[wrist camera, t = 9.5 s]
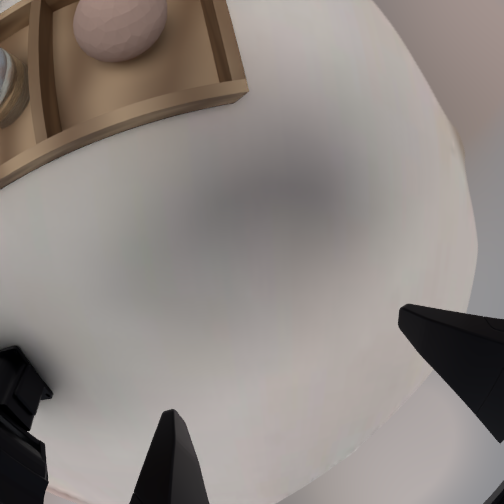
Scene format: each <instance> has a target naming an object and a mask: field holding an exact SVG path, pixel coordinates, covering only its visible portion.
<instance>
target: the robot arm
mask: <svg viewBox="0 0 504 504" xmlns="http://www.w3.org/2000/svg"><path fill="white" fill-rule="evenodd" d="M398 326H399V328H400V330H401V331H402V332H403V334H404V335H405V336H406V337H407V339H408V340H409V341H410V343H411V344H412V345H413V346H414V348H415V349H416V350H417V352H418V353H419V354H420V355H421V356H422V357H423V358H424V359H425V360H426V361H427V362H428V364H429V365H430V366H431V367H432V368H433V369H434V370H435V371H436V372H437V373H438V374H439V375H440V376H441V377H442V378H443V379H444V380H445V382H446V383H447V384H448V385H449V386H450V387H451V388H452V389H453V390H454V391H455V392H456V394H457V395H458V396H459V397H460V398H461V399H462V400H463V401H464V402H465V404H466V405H467V406H468V407H469V408H470V409H471V410H472V411H473V413H474V414H476V416H477V417H478V418H479V420H480V421H481V422H482V423H483V424H484V425H485V427H486V428H487V429H488V430H489V431H490V433H491V434H492V435H493V436H494V437H495V439H496V440H497V441H498V442H499V443H501V442H502V441H503V440H504V319H497V318H490V317H483V316H477V315H471V314H465V313H459V312H453V311H448V310H442V309H436V308H430V307H425V306H419V305H413V304H406V305H404V306H403V307H401V308H400V310H399V318H398ZM52 396H53V393H52V392H51V390H50V389H49V388H48V387H47V385H46V384H45V383H44V382H43V380H42V379H41V378H40V377H39V375H38V374H37V373H36V371H35V370H34V369H33V367H32V366H31V364H30V363H29V362H28V360H27V359H26V357H25V356H24V354H23V353H22V351H21V350H20V349H19V348H18V347H17V346H12V347H9V348H5V349H2V350H0V504H43V502H44V495H45V490H46V488H47V486H48V483H49V482H48V472H47V464H46V453H45V444H44V443H43V442H42V441H40V440H38V439H36V438H35V437H34V436H32V435H31V434H30V433H29V432H27V431H30V429H31V426H32V422H33V418H34V415H36V413H37V409H38V406H39V402H40V400H45V399H51V398H52ZM129 504H209V501H208V497H207V493H206V489H205V485H204V481H203V477H202V473H201V469H200V465H199V461H198V458H197V455H196V452H195V450H194V447H193V444H192V441H191V438H190V435H189V432H188V429H187V426H186V423H185V422H184V420H183V419H182V418H181V416H180V415H179V414H178V413H177V411H176V410H174V409H171V410H167V411H164V412H163V413H162V415H161V418H160V421H159V423H158V426H157V429H156V431H155V434H154V437H153V439H152V442H151V445H150V448H149V450H148V453H147V456H146V459H145V461H144V464H143V467H142V470H141V472H140V475H139V478H138V481H137V484H136V487H135V489H134V493H133V495H132V498H131V501H130V503H129ZM483 504H504V481H503V482H502V483H501V485H500V486H499V487H498V488H497V489H496V490H495V491H494V492H493V494H492V495H491V496H490V497H489V498H488V499H487V500H486V501H485V502H484V503H483Z"/></svg>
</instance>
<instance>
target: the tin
mask: <svg viewBox="0 0 504 504" xmlns="http://www.w3.org/2000/svg"><path fill="white" fill-rule="evenodd" d="M29 100H30V95H29V81H28V66H27V65H25V64H24V63H22V62H21V61H20V60H19V59H18V58H16V57H15V56H13V55H12V54H10V53H9V52H7V51H6V50H4V49H2V48H0V129H2V128H5V127H7V126H9V125H11V124H12V123H13V122H15V121H16V120H17V119H18V118H19V117H20V115H21V114H22V113H23V111H24V110H25V108H26V106H27V105H28V102H29Z"/></svg>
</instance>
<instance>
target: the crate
mask: <svg viewBox="0 0 504 504" xmlns="http://www.w3.org/2000/svg"><path fill="white" fill-rule="evenodd" d="M79 1H80V0H21V1H20V2H18V3H16V4H15V5H13V6H12V7H10V8H9V9H7V10H5V11H4V12H2V13H1V14H0V48H2V49H4V50H6V51H7V52H9V53H10V54H12V55H13V56H15V57H16V58H18V59H19V60H20V61H21V62H22V63H24V64H25V65H27V66H28V81H29V95H30V100H29V102H28V105H27V106H26V108H25V110H24V111H23V113H22V114H21V115H20V117H19V118H18V119H17V120H16V121H15V122H13V123H12V124H11V125H9V126H7V127H5V128H2V129H0V189H2V188H3V187H5V186H7V185H8V184H10V183H12V182H13V181H15V180H17V179H19V178H20V177H22V176H24V175H26V174H28V173H29V172H31V171H33V170H35V169H37V168H39V167H41V166H43V165H45V164H47V163H49V162H51V161H53V160H55V159H57V158H59V157H61V156H63V155H66V154H68V153H70V152H72V151H75V150H77V149H79V148H81V147H84V146H86V145H89V144H91V143H94V142H96V141H99V140H101V139H104V138H107V137H109V136H112V135H115V134H117V133H120V132H123V131H126V130H129V129H132V128H135V127H138V126H141V125H144V124H148V123H151V122H154V121H158V120H161V119H165V118H169V117H172V116H176V115H180V114H184V113H188V112H192V111H197V110H201V109H206V108H210V107H215V106H220V105H226V104H231V103H234V102H236V101H237V100H238V99H240V98H241V97H242V96H243V95H245V94H246V93H247V92H249V89H248V85H247V81H246V77H245V73H244V69H243V65H242V61H241V56H240V52H239V49H238V45H237V41H236V37H235V33H234V29H233V25H232V22H231V18H230V14H229V10H228V7H227V3H226V0H166V2H167V20H166V24H165V27H164V29H163V31H162V33H161V35H160V36H159V38H158V39H157V41H156V42H155V43H154V44H153V45H152V46H151V47H150V48H149V49H148V50H146V51H145V52H143V53H142V54H140V55H139V56H137V57H135V58H132V59H129V60H127V61H121V62H103V61H99V60H96V59H95V58H93V57H91V56H88V55H87V54H86V53H85V52H84V51H83V50H82V49H81V48H80V46H79V44H78V43H77V41H76V38H75V35H74V30H73V20H74V15H75V11H76V8H77V5H78V3H79Z"/></svg>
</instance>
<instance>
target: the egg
mask: <svg viewBox="0 0 504 504" xmlns="http://www.w3.org/2000/svg"><path fill="white" fill-rule="evenodd" d="M166 20H167V2H166V0H80V1H79V3H78V5H77V8H76V11H75V15H74V20H73V30H74V35H75V38H76V41H77V43H78V44H79V46H80V48H81V49H82V50H83V51H84V52H85V53H86V54H87V55H88V56H91V57H93V58H95V59H96V60H99V61H103V62H121V61H127V60H129V59H132V58H135V57H137V56H139V55H140V54H142V53H143V52H145V51H146V50H148V49H149V48H150V47H151V46H152V45H153V44H154V43H155V42H156V41H157V39H158V38H159V36H160V35H161V33H162V31H163V29H164V27H165V24H166Z"/></svg>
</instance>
